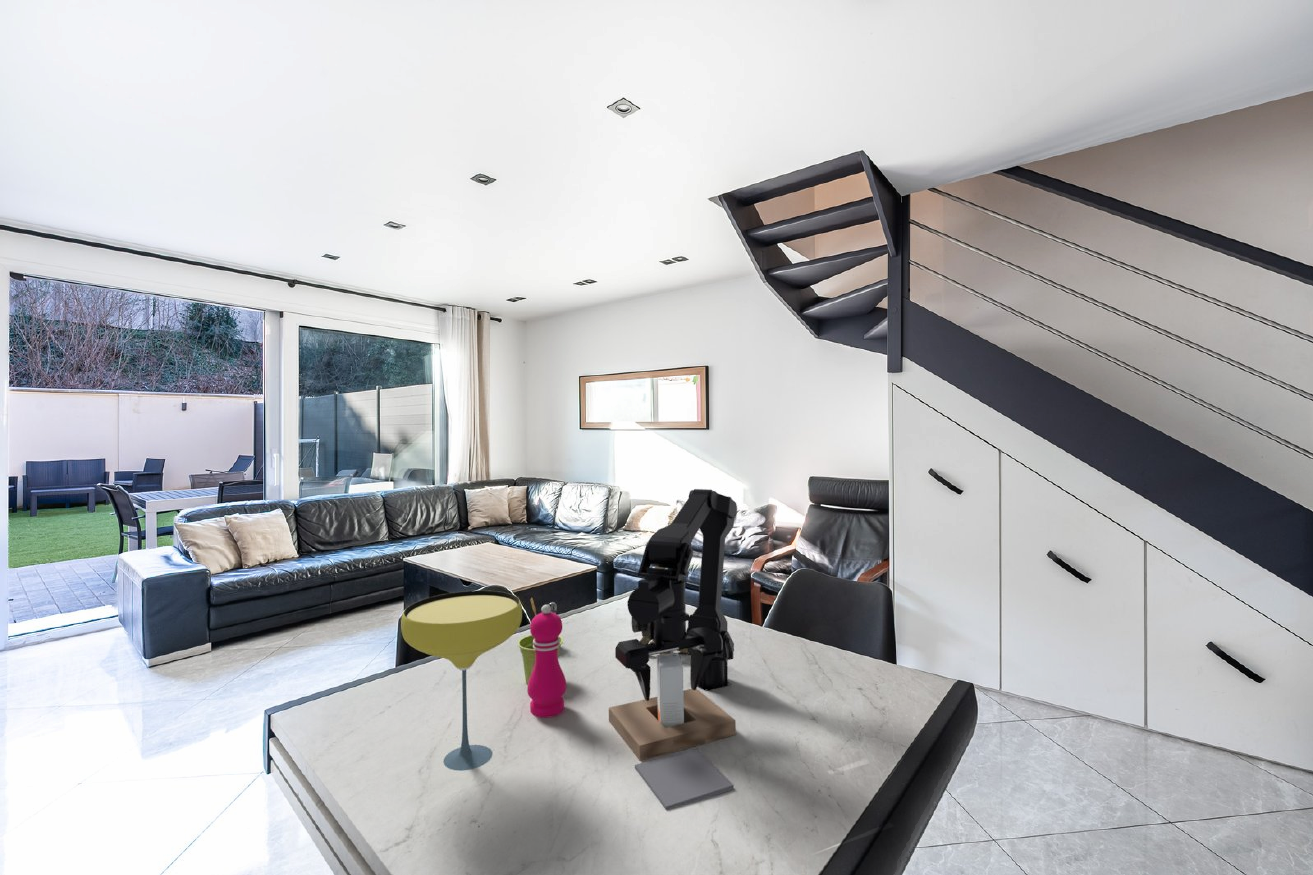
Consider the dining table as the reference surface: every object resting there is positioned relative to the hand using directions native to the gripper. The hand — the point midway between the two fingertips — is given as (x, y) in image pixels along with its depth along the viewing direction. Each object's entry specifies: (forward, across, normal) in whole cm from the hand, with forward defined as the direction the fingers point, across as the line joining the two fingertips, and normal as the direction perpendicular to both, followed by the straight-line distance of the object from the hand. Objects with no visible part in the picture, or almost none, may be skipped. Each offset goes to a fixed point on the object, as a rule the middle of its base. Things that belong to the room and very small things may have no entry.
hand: (670, 694), depth 100 cm
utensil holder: (+6, +11, -48) cm, 50 cm away
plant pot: (+6, +16, -29) cm, 34 cm away
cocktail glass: (+6, +34, -5) cm, 35 cm away
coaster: (+6, +5, +14) cm, 16 cm away
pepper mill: (+6, +18, -16) cm, 25 cm away
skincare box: (+6, 0, 0) cm, 6 cm away
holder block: (+6, 0, 0) cm, 6 cm away
